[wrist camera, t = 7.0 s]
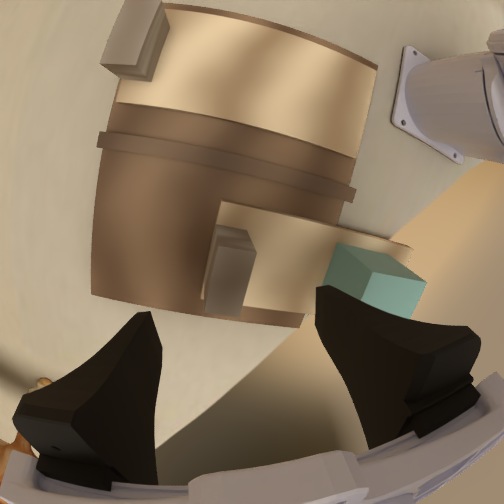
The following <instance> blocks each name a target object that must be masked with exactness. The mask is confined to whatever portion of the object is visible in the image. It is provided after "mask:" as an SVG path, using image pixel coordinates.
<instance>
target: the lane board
mask: <svg viewBox="0 0 504 504" xmlns="http://www.w3.org/2000/svg"><path fill="white" fill-rule="evenodd" d="M163 6H164V9H174V10H183V11H192V12H199V13H206V14H212V15H218V16H223V17H228V18H233V19H238V20H242V21H246V22H250V23H254V24H258V25H262V26H266V27H269V28H273V29H276V30H279V31H283V32H286V33H289V34H292V35H295V36H298V37H301V38H303V39H306V40H309V41H312V42H314V43H317V44H319V45H322V46H324V47H327V48H329V49H332V50H334V51H336V52H339V53H341V54H343V55H345V56H347V57H350V58H352V59H354V60H356V61H358V62H360V63H362V64H364V65H366V66H368V67H370V68H372V69H374V70H376V71H377V68H378V65H376V64H374V63H372V62H370V61H368V60H366V59H365V58H363V57H361V56H358V55H356V54H354V53H352V52H350V51H348V50H346V49H344V48H341V47H339V46H337V45H335V44H332V43H330V42H327V41H325V40H323V39H320V38H317V37H315V36H312V35H310V34H307V33H304V32H301V31H298V30H296V29H293V28H290V27H287V26H283V25H280V24H277V23H273V22H270V21H267V20H263V19H259V18H255V17H251V16H247V15H243V14H238V13H234V12H229V11H224V10H218V9H212V8H206V7H199V6H192V5H183V4H173V3H163ZM121 81H122V79H121V78H120V80H119V83H118V87H117V90H116V94H115V97H114V101H113V105H112V109H111V113H110V117H109V121H108V126H107V130H106V132H99V137H98V142H97V147H98V148H103V150H102V156H101V162H100V168H99V175H98V182H97V189H96V198H95V207H94V218H93V232H92V251H91V294H92V295H96V296H100V297H105V298H109V299H113V300H118V301H123V302H127V303H132V304H137V305H142V306H147V307H152V308H158V309H163V310H169V311H174V312H180V313H186V314H192V315H198V316H205V317H211V318H218V319H225V320H232V321H240V322H247V323H256V324H264V325H273V326H282V327H292V328H299V327H300V325H301V322H302V320H303V317H304V315H305V313H296V312H287V311H279V310H271V309H264V308H256V307H249V306H242V309H241V313H240V316H239V318H237V317H230V316H223V315H216V314H210V313H204V300H203V299H200V296H201V289H202V284H203V279H204V274H205V269H206V264H207V259H208V254H209V250H210V245H211V240H212V236H213V231H214V227H215V222H216V218H217V213H218V209H219V205H220V201H221V199H224V200H229V201H234V202H238V203H243V204H248V205H252V206H257V207H261V208H265V209H270V210H274V211H278V212H283V213H287V214H291V215H295V216H299V217H303V218H308V219H312V220H316V221H320V222H323V223H327V224H331V225H335V226H337V222H338V219H339V216H340V213H341V210H342V207H343V203H344V201H347V202H350V203H352V202H353V199H354V196H355V193H356V189H354V188H351V187H349V183H350V180H351V176H352V173H353V169H354V166H355V162H356V159H353V158H349V157H346V156H344V155H341V154H338V153H335V152H333V151H330V150H327V149H324V148H321V147H318V146H315V145H312V144H309V143H306V142H303V141H300V140H297V139H293V138H290V137H287V136H283V135H280V134H277V133H273V132H270V131H266V130H262V129H258V128H255V127H251V126H247V125H243V124H239V123H234V122H230V121H226V120H221V119H217V118H212V117H207V116H202V115H197V114H192V113H186V112H180V111H174V110H168V109H162V108H155V107H147V106H139V105H130V104H121V103H117V102H116V98H117V94H118V91H119V87H120V84H121ZM373 88H374V87H373ZM372 93H373V92H372ZM370 102H371V101H370ZM368 111H369V110H368ZM357 155H358V154H357Z"/></svg>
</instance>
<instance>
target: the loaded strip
mask: <svg viewBox="0 0 504 504" xmlns="http://www.w3.org/2000/svg"><path fill="white" fill-rule="evenodd" d="M337 242H338V243H342V244H346V245H350V246H355V247H359V248H363V249H367V250H371V251H375V252H379V253H383V254H387V255H390V256H391V257H393V258H394V259H395V260H397V261H398V262H400V263H401V264H402V265H404V266H405V267H407V264H408V262H409V259H410V257H411V254H412V252H413V249H412V248H411V247H409V246H407V245H403V244H400V243H397V242H393V241H390V240H386V239H383V238H379V237H376V236H372V235H369V234H365V233H361V232H358V231H354V230H350V229H347V228H343V227H339V226H335V225H331V224H327V223H323V222H320V221H316V220H312V219H308V218H303V217H299V216H295V215H291V214H287V213H283V212H278V211H274V210H270V209H265V208H261V207H257V206H252V205H248V204H243V203H238V202H234V201H229V200H224V199H221V201H220V205H219V209H218V213H217V218H216V222H215V227H214V231H213V236H212V240H211V245H210V250H209V254H208V259H207V264H206V269H205V274H204V279H203V284H202V289H201V296H200V299H203V300H204V313H210V314H216V315H223V316H230V317H237V318H239V316H240V313H241V309H242V306H249V307H256V308H264V309H271V310H279V311H287V312H296V313H305V314H314V315H315V305H316V304H315V302H316V287H319V286H322V284H323V281H324V278H325V276H326V273H327V270H328V267H329V265H330V262H331V259H332V256H333V253H334V250H335V248H336V245H337Z"/></svg>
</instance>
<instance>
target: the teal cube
mask: <svg viewBox="0 0 504 504" xmlns="http://www.w3.org/2000/svg"><path fill="white" fill-rule="evenodd" d="M426 284H427V282H426V281H424V280H423V279H421V278H420V277H419V276H418V275H416V274H415V273H413V272H412V271H411V270H409V269H408V268H407V267H405V266H404V265H402V264H401V263H400V262H398V261H397V260H395V259H394V258H393V257H391V256H390V255H387V254H383V253H379V252H375V251H371V250H367V249H363V248H359V247H355V246H350V245H346V244H342V243H338V242H337V245H336V248H335V250H334V253H333V256H332V259H331V262H330V265H329V267H328V270H327V273H326V276H325V278H324V281H323V284H322V286H324V285H331V286H333V287H335V288H337V289H339V290H341V291H343V292H345V293H347V294H349V295H351V296H353V297H355V298H357V299H359V300H361V301H363V302H365V303H367V304H369V305H371V306H373V307H376V308H378V309H380V310H383V311H385V312H388V313H391V314H394V315H397V316H400V317H403V318H407V319H410V318H411V316H412V313H413V311H414V310H415V307H416V305H417V303H418V301H419V299H420V297H421V295H422V293H423V291H424V288H425V286H426ZM315 304H316V302H315Z"/></svg>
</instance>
